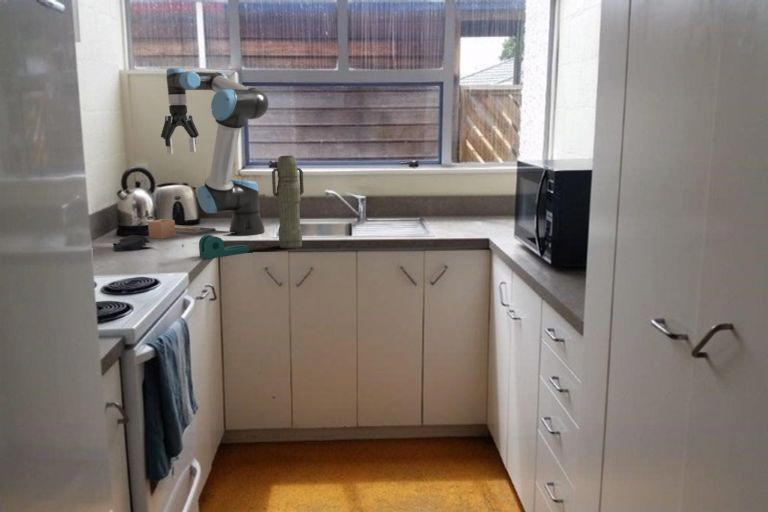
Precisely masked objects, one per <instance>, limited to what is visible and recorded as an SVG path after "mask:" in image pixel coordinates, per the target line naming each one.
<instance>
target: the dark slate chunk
mask: <svg viewBox="0 0 768 512" xmlns="http://www.w3.org/2000/svg"><path fill="white" fill-rule="evenodd" d="M147 243H150V244H152V242H150V241H149V239H148V238H146V237H145V236H144V235H139V234H138V235H137V234H130V235H127V236H124V237H123V238H120V239H118V243H112V246H113V245H114V246H113V247H112V249H113V250H114V252H119V253H121V252H123V253H124V252H136V251H144V250H151V249H153V247H152V246H151V247H150V246H147V245H146V244H147Z"/></svg>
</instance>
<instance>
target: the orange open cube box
mask: <svg viewBox="0 0 768 512" xmlns="http://www.w3.org/2000/svg"><path fill="white" fill-rule="evenodd" d="M175 221H176V220H175V219H166V218H165V219H164V218H163V219H162V218H161V219H157V220H155V219H154V220H150V221H147V226H148V237H149V238H155V239H165V238H166V239H167V238H170V237H174V236H177V233H176V230H175V225H176V222H175Z"/></svg>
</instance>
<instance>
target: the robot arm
mask: <svg viewBox="0 0 768 512" xmlns="http://www.w3.org/2000/svg"><path fill="white" fill-rule="evenodd" d="M165 79H166V85H167V86H166V87H167V95H168V104H169V106H168V108H169V114H170V115H166V116H165V117H164V124H163V128H162V131H161V134H160V138H162V139H164V141H165V143H164V144H165V147H166V154H167V155H174V150H173V139H172V138H171V137H172V135H173V134H174V132H175V129H177V127H183V129H184V130H185V132H186V133H187V135H188V136H189V137H188V142H189V152H190V153H196V151H197V149H196V145H197V142H196V138H197V137H198V136H200V135H199V132H198V129H197V127H196V125H195V123H194V121H193V116H192V115H187V113H188V106H187V93H186V91H213V92H215V93H214V95H213V96H212V99H211V104H210V105H211V106H210V109H211V114H212V117H213V118H214V119H215V123H216V124H217V130H216V138H215V144H214V149H213V155H212V162H211V168H210V174H209V176H207V177H206V178H205V181H204V185H201V186H199V187H198V189H197V192H196V193H197V200H198V201H197V202H198V204H199V206H200V208H201V209H202V211H203V212H204V213H206V214H217V213H224V212H231V211H232V218H231V222H230V226H229V234H230V235H233V236H251V235H252V236H254V235H259V234H263V233H265V231H266V230H265V225H264V224H263V221H262V217H261V213H260V201H259V200H260V199H259V198H260V196H259V193H260V192H259V191H260V190H259V186H258V183H257V182H256V181H254V180H242V179H241V180H240V179H232V174H233V168H234V165H235V158H236V153H237V149H238V148H237V147H238V141H239V137H240V131H241V129H243V128H244V127H245V126H246V122H247V120H256V119H259V118H261V117H263V116H264V115H265V114H266V113H267V111H268V109H269V99H268V97H267V94H266V93H265V92H263V91H262V90H260V89H258V88H255V87H247V86H245V85H243V84H240V83H239V82H236V81H234V80H232V79H230V78H228V76H227V74H226V73H223V72H217V71H216V72H203V71H202V72H201V71H197V72H196V71H193V70H191V71H185V70H184V68H182V67H181V68H180V67H178V68H175V67H174V68H167V69H166V77H165Z"/></svg>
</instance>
